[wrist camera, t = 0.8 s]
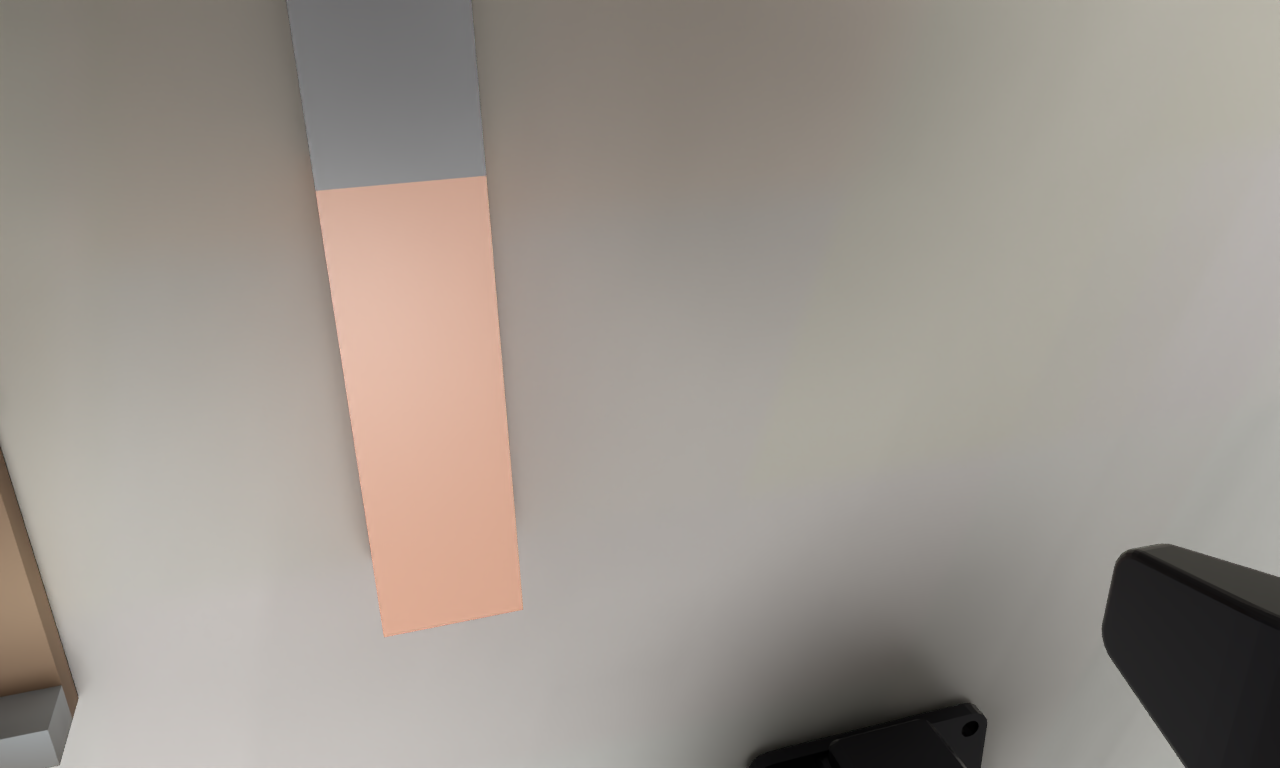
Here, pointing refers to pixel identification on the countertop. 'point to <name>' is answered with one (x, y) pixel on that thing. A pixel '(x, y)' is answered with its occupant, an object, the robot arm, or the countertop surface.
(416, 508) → the two-tone eraser
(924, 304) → the countertop surface
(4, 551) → the cord caddy
